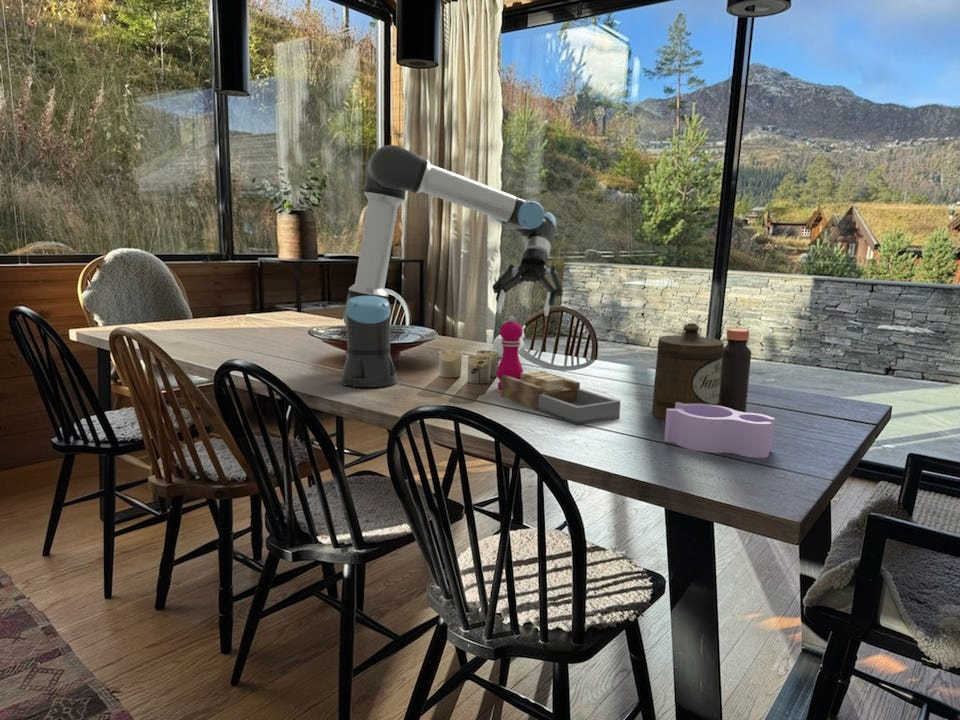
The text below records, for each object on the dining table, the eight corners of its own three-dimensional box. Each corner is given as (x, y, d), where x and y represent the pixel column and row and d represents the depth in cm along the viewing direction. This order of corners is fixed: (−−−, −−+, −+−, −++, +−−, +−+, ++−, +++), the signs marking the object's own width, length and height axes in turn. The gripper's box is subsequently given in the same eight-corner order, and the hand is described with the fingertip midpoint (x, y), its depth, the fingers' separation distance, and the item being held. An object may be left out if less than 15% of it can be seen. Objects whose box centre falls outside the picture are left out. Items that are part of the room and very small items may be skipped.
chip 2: (534, 386, 168) (535, 377, 168) (550, 384, 171) (551, 375, 171) (547, 391, 164) (547, 381, 164) (563, 388, 167) (563, 379, 166)
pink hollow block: (774, 446, 138) (778, 414, 137) (764, 463, 128) (768, 428, 126) (676, 430, 148) (679, 399, 147) (659, 444, 138) (662, 412, 136)
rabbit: (520, 354, 235) (521, 320, 233) (529, 359, 226) (530, 323, 224) (487, 355, 232) (487, 320, 230) (494, 360, 224) (495, 324, 221)
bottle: (747, 410, 166) (755, 329, 162) (742, 416, 160) (750, 332, 156) (719, 406, 169) (726, 327, 165) (713, 412, 163) (720, 330, 160)
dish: (538, 410, 161) (538, 394, 161) (579, 404, 168) (580, 388, 167) (576, 425, 150) (576, 407, 149) (619, 417, 157) (620, 401, 156)
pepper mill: (523, 387, 186) (525, 314, 182) (522, 393, 179) (524, 318, 175) (497, 386, 186) (498, 313, 183) (495, 392, 179) (496, 317, 176)
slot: (500, 396, 175) (501, 375, 174) (541, 391, 181) (541, 371, 180) (537, 410, 162) (537, 388, 161) (578, 404, 169) (579, 382, 168)
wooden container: (710, 427, 150) (719, 329, 146) (644, 417, 157) (651, 324, 153) (722, 413, 163) (730, 322, 159) (661, 404, 170) (667, 317, 166)
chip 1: (520, 382, 173) (521, 372, 173) (536, 380, 176) (536, 370, 176) (532, 386, 169) (532, 376, 169) (548, 384, 172) (548, 374, 171)
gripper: (579, 265, 199) (567, 322, 188) (497, 263, 207) (482, 317, 195) (576, 247, 193) (564, 305, 182) (493, 246, 201) (476, 301, 189)
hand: (521, 312), depth 189 cm, fingers open, 13 cm apart
